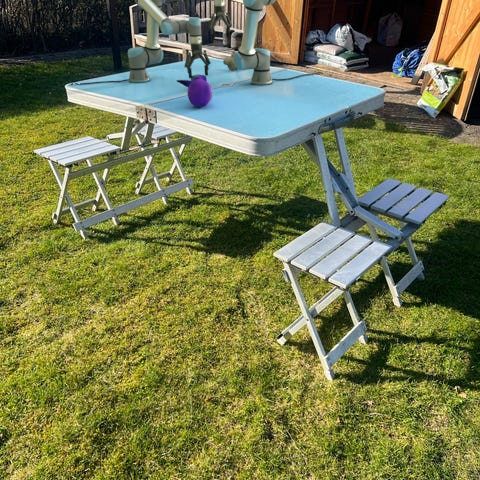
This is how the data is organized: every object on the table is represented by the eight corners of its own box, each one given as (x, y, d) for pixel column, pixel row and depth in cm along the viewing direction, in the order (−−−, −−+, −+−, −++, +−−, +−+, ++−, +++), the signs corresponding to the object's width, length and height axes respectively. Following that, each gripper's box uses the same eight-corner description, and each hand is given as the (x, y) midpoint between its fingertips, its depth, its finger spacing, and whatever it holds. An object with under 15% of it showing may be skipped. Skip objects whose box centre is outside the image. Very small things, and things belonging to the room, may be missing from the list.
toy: (200, 97, 287) (212, 112, 266) (174, 93, 280) (184, 108, 259) (206, 72, 279) (218, 86, 258) (178, 67, 272) (189, 80, 251)
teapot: (227, 72, 362) (226, 52, 355) (220, 70, 371) (219, 51, 363) (249, 69, 371) (249, 50, 364) (242, 67, 380) (242, 48, 372)
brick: (199, 90, 308) (198, 77, 304) (191, 88, 314) (190, 75, 310) (206, 88, 312) (206, 76, 307) (199, 86, 318) (198, 74, 313)
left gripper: (183, 45, 289) (186, 80, 299) (214, 41, 302) (216, 74, 313) (177, 44, 294) (180, 78, 304) (207, 41, 307) (209, 73, 318)
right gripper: (208, 6, 311) (210, 39, 322) (236, 4, 325) (237, 36, 336) (202, 6, 316) (204, 39, 327) (229, 4, 330) (230, 36, 341)
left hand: (198, 76), depth 309 cm, fingers open, 13 cm apart
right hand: (220, 37), depth 331 cm, fingers open, 13 cm apart
